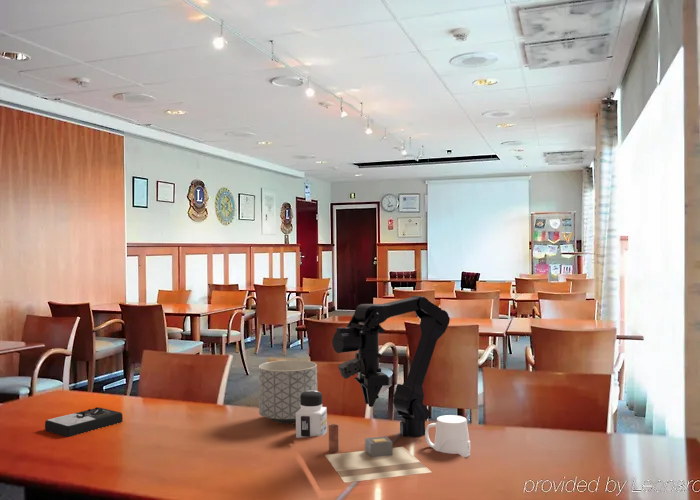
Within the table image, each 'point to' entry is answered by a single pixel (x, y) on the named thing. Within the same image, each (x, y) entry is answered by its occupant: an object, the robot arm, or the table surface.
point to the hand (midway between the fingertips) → (369, 405)
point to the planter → (284, 388)
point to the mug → (450, 435)
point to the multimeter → (82, 421)
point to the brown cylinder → (333, 438)
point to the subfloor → (375, 465)
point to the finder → (378, 446)
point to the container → (311, 415)
